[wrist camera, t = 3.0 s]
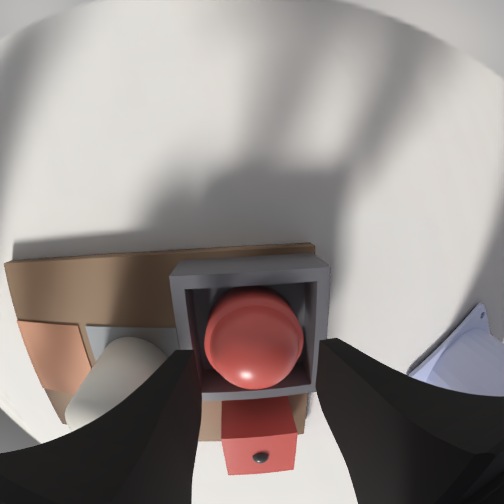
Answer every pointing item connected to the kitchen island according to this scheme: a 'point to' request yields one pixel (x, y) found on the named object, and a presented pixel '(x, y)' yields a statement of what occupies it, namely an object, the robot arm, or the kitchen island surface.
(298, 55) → the kitchen island surface
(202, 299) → the pop dome base
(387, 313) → the kitchen island surface
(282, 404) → the red block with knob
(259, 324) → the pop dome
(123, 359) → the ivory pawn
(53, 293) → the game board
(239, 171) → the kitchen island surface
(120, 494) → the robot arm
